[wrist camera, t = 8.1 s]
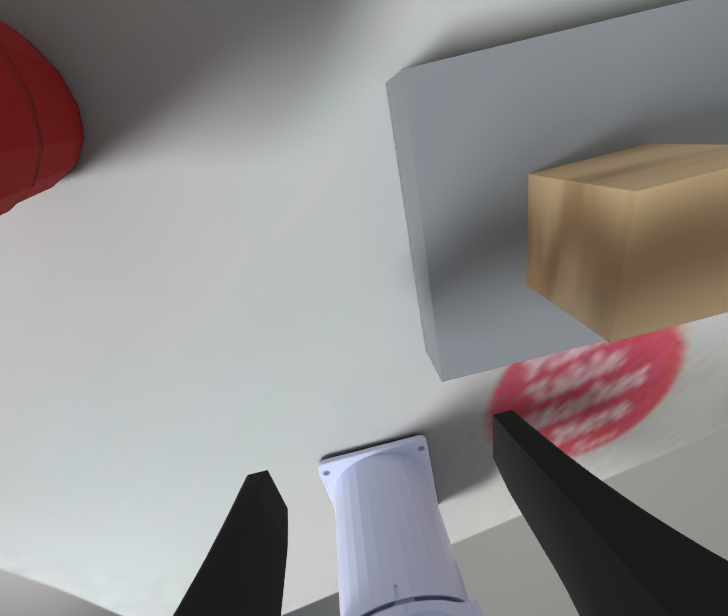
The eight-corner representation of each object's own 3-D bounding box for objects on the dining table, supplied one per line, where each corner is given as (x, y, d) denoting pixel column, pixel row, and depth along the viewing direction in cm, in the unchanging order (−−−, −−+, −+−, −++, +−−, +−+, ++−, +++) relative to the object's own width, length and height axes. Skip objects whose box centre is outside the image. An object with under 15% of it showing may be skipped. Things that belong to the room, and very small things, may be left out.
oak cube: (627, 258, 15) (751, 305, 11) (526, 284, 15) (609, 343, 11) (648, 143, 13) (815, 145, 9) (528, 174, 13) (636, 191, 9)
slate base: (642, 295, 20) (690, 318, 18) (425, 350, 20) (442, 381, 18) (706, 5, 14) (798, -27, 11) (386, 82, 14) (402, 69, 11)
